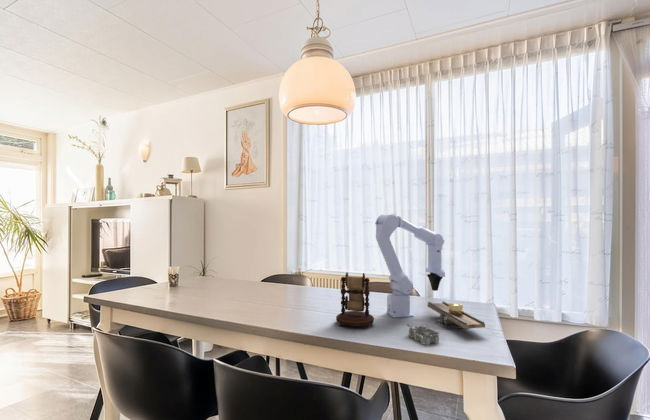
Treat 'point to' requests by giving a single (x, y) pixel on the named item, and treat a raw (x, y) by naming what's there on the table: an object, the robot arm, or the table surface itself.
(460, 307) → the brass weight
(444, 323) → the pivot bracket
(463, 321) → the beam
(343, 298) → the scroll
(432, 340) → the egg carton
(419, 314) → the table surface
